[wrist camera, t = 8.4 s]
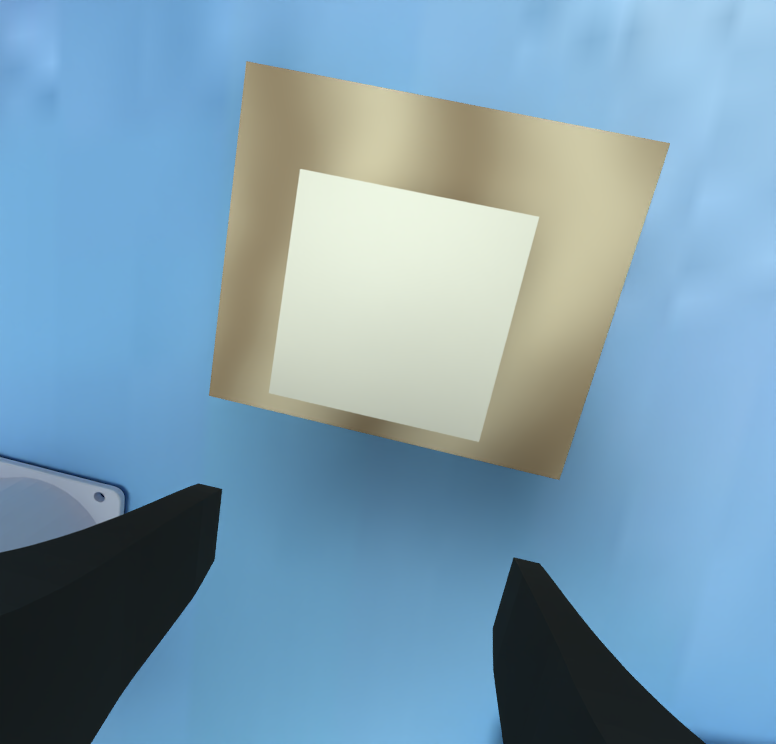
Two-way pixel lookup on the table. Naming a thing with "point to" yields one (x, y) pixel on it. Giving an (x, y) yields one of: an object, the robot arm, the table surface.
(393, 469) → the table surface
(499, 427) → the plate
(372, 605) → the table surface
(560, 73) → the table surface
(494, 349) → the pale matte cube
